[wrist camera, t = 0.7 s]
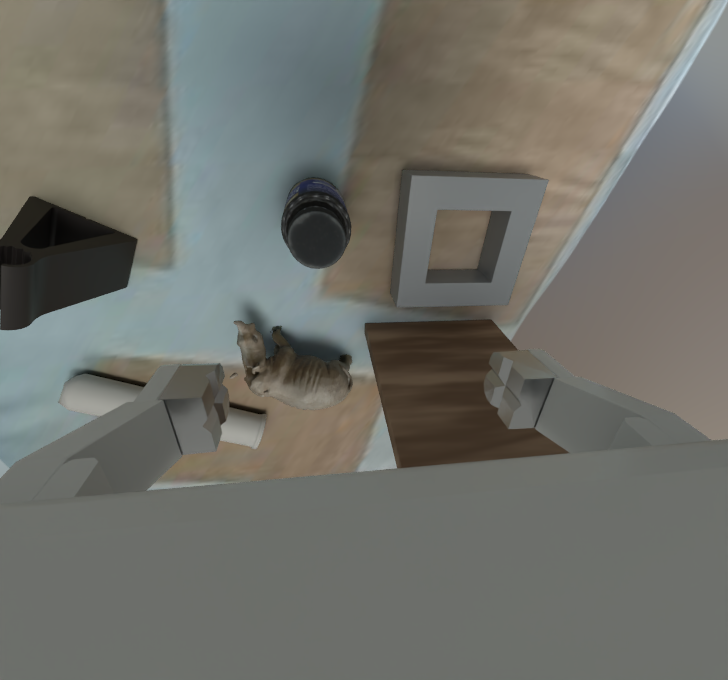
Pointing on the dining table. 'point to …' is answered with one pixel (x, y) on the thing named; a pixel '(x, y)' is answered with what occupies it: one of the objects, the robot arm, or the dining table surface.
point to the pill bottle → (316, 223)
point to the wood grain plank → (445, 393)
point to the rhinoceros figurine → (291, 372)
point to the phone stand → (57, 262)
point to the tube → (110, 394)
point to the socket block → (501, 246)
